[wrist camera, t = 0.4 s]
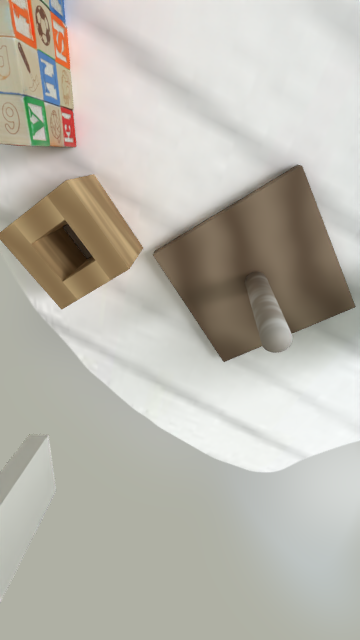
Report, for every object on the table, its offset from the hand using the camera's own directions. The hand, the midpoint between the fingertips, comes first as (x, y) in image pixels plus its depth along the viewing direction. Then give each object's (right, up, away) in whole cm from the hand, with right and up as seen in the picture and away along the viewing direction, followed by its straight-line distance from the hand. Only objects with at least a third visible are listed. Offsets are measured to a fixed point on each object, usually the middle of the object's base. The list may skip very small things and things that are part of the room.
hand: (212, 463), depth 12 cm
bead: (-12, +16, +22) cm, 30 cm away
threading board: (+7, +11, +23) cm, 27 cm away
